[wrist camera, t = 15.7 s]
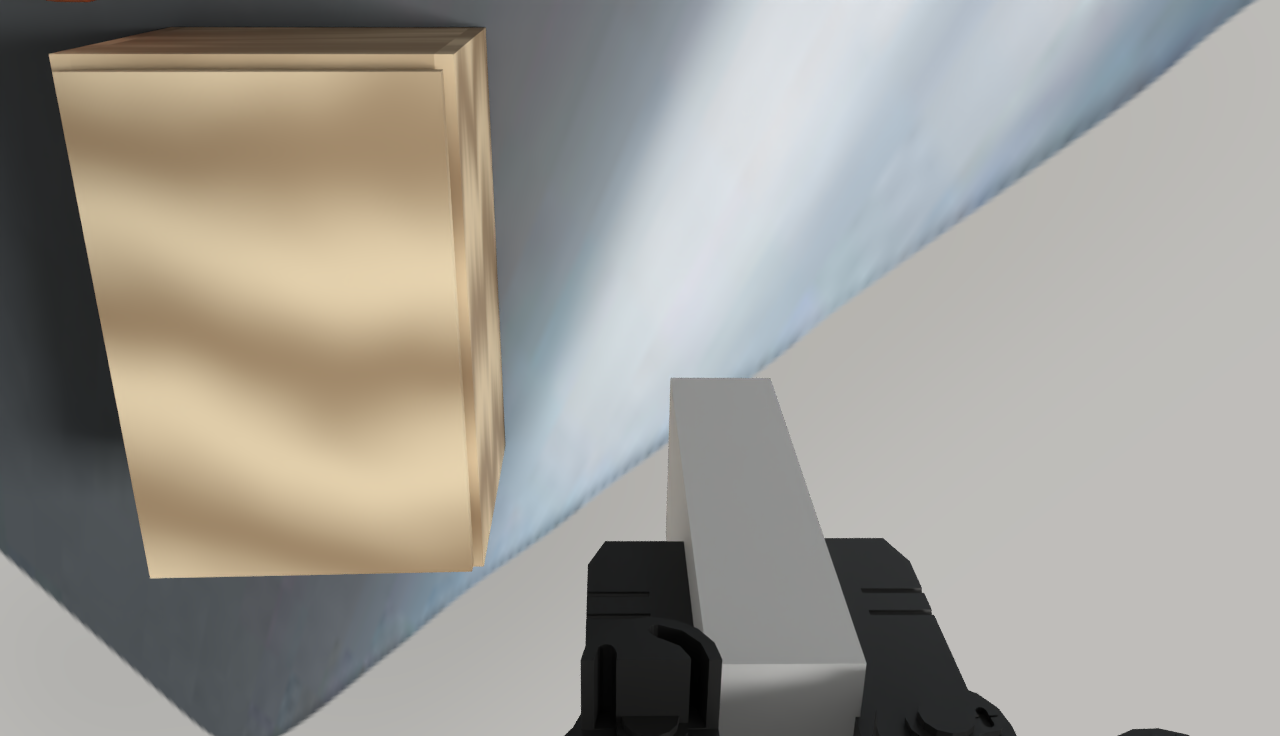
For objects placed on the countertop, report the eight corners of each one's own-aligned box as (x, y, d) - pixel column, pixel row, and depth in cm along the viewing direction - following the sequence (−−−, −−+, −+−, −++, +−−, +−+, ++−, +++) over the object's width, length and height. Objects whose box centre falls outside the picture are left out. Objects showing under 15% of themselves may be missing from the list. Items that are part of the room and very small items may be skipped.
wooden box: (171, 27, 41) (48, 54, 32) (485, 27, 42) (454, 54, 32) (235, 448, 48) (148, 572, 39) (505, 445, 48) (483, 566, 39)
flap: (61, 69, 32) (52, 72, 31) (443, 69, 32) (440, 71, 32) (156, 569, 38) (150, 578, 38) (473, 562, 39) (472, 571, 38)
